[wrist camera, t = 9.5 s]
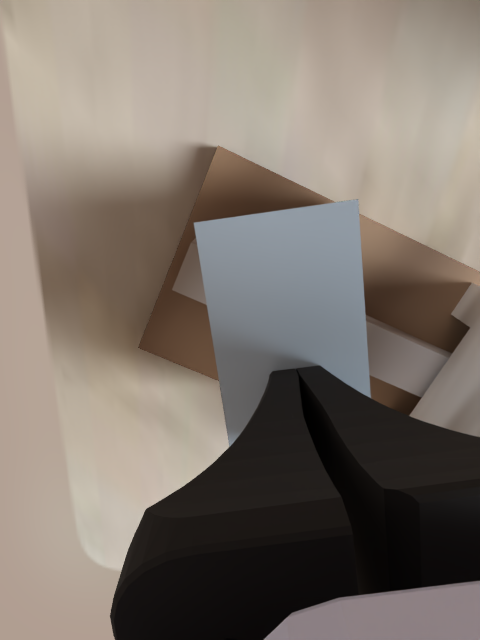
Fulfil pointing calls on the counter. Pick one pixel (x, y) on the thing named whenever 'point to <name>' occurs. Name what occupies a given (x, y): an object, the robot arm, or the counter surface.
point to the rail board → (379, 293)
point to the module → (283, 299)
